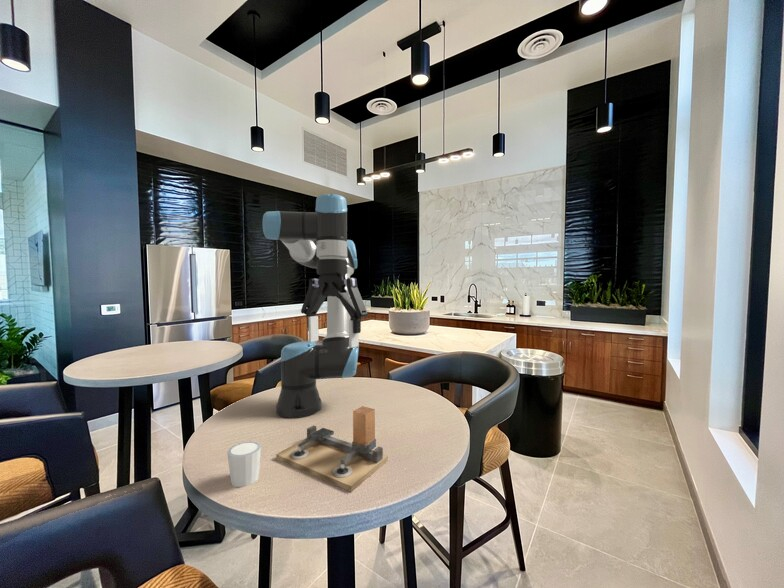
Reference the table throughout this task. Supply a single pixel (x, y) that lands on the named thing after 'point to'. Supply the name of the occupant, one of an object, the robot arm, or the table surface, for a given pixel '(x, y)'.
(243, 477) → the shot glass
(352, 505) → the table surface
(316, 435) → the fixed leg
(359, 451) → the block
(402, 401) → the table surface
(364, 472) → the bolt plate
